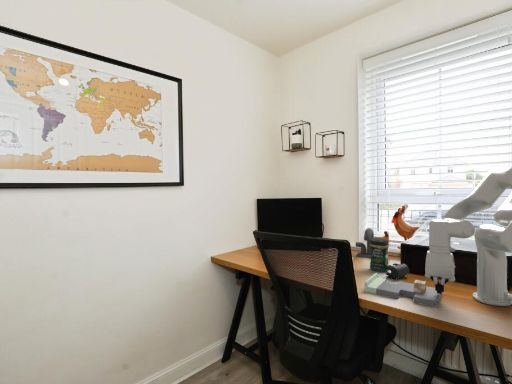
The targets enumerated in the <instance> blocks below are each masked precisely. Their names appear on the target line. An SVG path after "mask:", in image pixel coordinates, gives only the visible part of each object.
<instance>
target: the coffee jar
mask: <svg viewBox="0 0 512 384" xmlns="http://www.w3.org/2000/svg"><path fill="white" fill-rule="evenodd" d="M370 247H371V259H370V261H369V269H370V271H374V272H376V273H386V272H390V270H386V266H387V265H390V263H389V254H388V253H389V247H390V242H389V239H388V238H382V237H376V236H374V237H373V238H371V240H370Z"/></svg>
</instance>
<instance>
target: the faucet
mask: <svg viewBox="0 0 512 384" xmlns="http://www.w3.org/2000/svg"><path fill="white" fill-rule="evenodd" d="M373 237H375V234H374V229H372V228H370V227H368V228H366V229H365V230H364V234H363V240H364V241H366V244H365V243H364V242H359V241H356V242H355V247H356V248H360V251H358V253H356V255H355V258H363V259H370V260H371V247H370V240H371V238H373Z"/></svg>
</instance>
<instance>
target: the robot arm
mask: <svg viewBox="0 0 512 384" xmlns="http://www.w3.org/2000/svg"><path fill="white" fill-rule="evenodd" d="M505 190H512V167H497V168H493V169H491V170H489V171H488V172H487V173H486V174H485V176H484V177H483V178H482V180H481V181H480V182H479V183H478V185H477V186H476V187H475V188H474V190H473V191H472V192H471V193H470V194H469V195H468V196H466V197H465V198H463V199H461V200H460V201H458V202H457V203H456V204H454V205H453V206H452V207H450V208H449V209H448V211H447V212H446V213H445V214H444V215H443V216H442V218H441V219H437V218H436V219H431V220H430V221H429V223H428V224H429V225H428V250H427V252H426V256H425V265H424V266H425V268H424V269H425V270H424V271H425V272H424V273H425V274H424V277H425V278H427V279H430V280H431V281H433V283H434V288H435V291H437V294H443V293H445V284H447V283H449V282H456V278H455V274H456V273H455V272H456V269H455V259H454V254H453V252H456V248H454V247H452V246H451V244H452V243H451V238H455V239H463V240H464V239H469V238H471V237H473V236H474V242H475V245H476V257H477V259H476V292H473V293H472V298H473V299H474V300H476V301H478V302H480V303H483V304H485V305H490V306H495V307H496V306H497V307H509V306H511V305H512V294H511V293H509V291H508V285H507V283H508V281H507V279H508V275H507V274H508V259H507V254H506V253H508V254H509V253H510V254H512V191H511V192H510V194H509V195H508V196H507V198H506V199H505V200H504V201H503V202H502V204H501V205H500V206H499V207H498V209H497V210H496V211H495V212H494V215H493V219H494V221H495V222H496V223H497V224H498V225H497V224H491V223H490V224H489V223H486V224H483V225H482V224H481V225H480V226H478V227H477V228H475V225H474V224H473V223H472V222H470V221H469V220H465V219H466V218H467V217H469V216H470V215H472V214H475V213H478V212H481V211H482V212H483V211H485V210H488V209H489V208H490V209H491V208H492V207H493V206H494V204H495V203H496V202H497V201H498V199H499V198H500V197H501V196H502V194H503V193H504V192H505ZM439 278H441V281H439Z"/></svg>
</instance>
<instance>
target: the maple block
mask: <svg viewBox="0 0 512 384" xmlns="http://www.w3.org/2000/svg"><path fill="white" fill-rule="evenodd" d="M413 284H414V292H419V293H424V294H425V292H426V286H427V281H426V280H424V281H423V280H419V279H415V280H414V282H413Z"/></svg>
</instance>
